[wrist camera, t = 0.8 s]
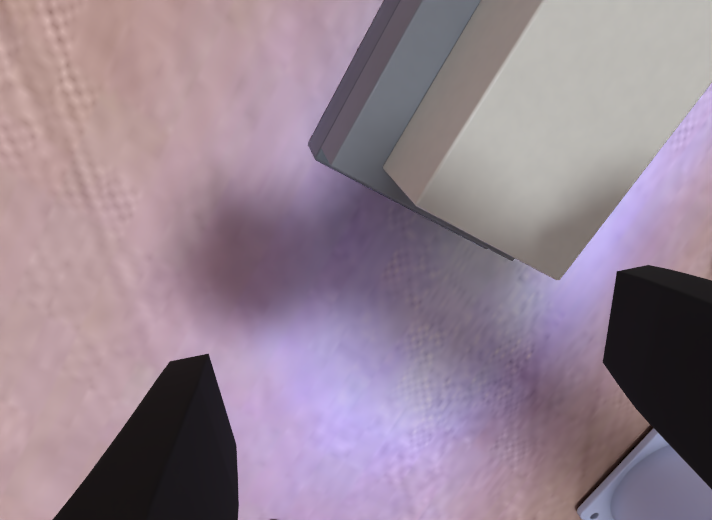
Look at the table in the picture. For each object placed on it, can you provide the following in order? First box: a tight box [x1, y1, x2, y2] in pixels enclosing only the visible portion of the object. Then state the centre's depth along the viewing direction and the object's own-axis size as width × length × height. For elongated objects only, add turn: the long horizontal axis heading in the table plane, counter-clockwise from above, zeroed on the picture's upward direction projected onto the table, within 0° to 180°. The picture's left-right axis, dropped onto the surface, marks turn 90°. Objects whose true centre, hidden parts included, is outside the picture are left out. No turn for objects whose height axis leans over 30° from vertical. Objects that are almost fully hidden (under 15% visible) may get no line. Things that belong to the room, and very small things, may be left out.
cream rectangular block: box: [383, 0, 712, 280], centre depth 11 cm, size 4×9×3 cm, turn 150°
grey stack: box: [308, 0, 515, 261], centre depth 15 cm, size 7×11×4 cm, turn 149°
